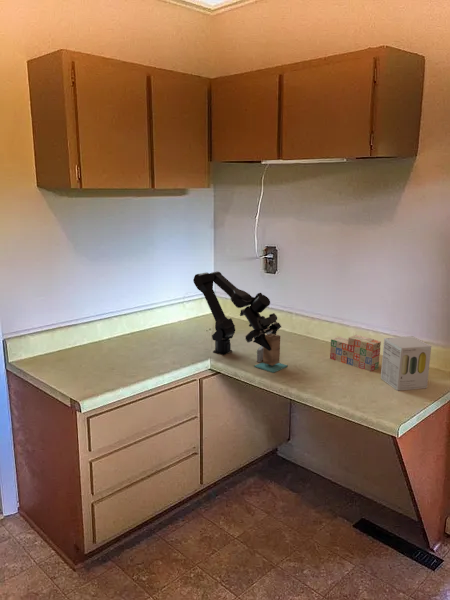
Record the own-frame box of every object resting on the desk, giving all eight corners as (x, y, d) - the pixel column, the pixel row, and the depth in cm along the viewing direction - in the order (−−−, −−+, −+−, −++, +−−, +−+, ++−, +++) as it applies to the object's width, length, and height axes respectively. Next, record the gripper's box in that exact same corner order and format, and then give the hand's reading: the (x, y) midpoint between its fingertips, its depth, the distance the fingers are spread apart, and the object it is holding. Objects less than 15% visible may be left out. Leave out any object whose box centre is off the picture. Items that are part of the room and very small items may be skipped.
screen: (256, 361, 238) (257, 349, 237) (265, 352, 250) (265, 341, 249) (260, 362, 238) (260, 350, 237) (268, 353, 250) (268, 341, 248)
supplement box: (397, 391, 208) (401, 348, 204) (379, 378, 221) (383, 337, 217) (427, 388, 211) (432, 345, 207) (409, 376, 224) (413, 335, 220)
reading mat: (254, 366, 232) (254, 365, 232) (268, 361, 239) (268, 359, 239) (273, 372, 226) (273, 371, 225) (287, 366, 233) (287, 365, 233)
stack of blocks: (329, 358, 244) (330, 332, 241) (337, 355, 248) (339, 329, 245) (370, 371, 228) (373, 344, 226) (378, 368, 233) (381, 341, 230)
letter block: (262, 362, 232) (263, 335, 229) (270, 359, 235) (271, 332, 233) (272, 365, 229) (273, 337, 226) (279, 362, 232) (280, 335, 229)
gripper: (251, 312, 222) (272, 343, 218) (278, 304, 236) (298, 333, 231) (236, 326, 229) (256, 357, 225) (263, 318, 243) (282, 347, 238)
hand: (274, 348), depth 230 cm, fingers closed on letter block, 5 cm apart
